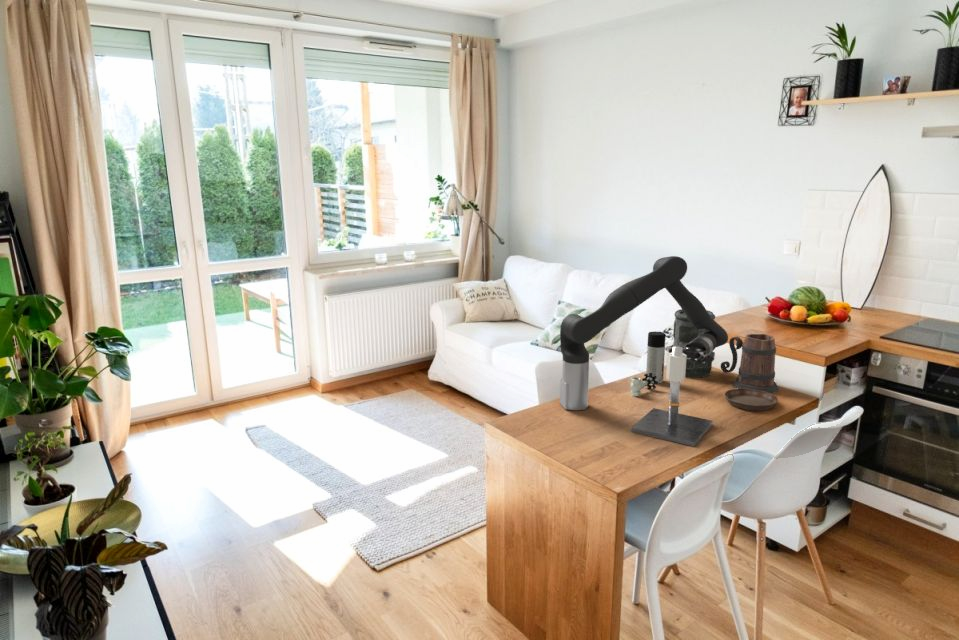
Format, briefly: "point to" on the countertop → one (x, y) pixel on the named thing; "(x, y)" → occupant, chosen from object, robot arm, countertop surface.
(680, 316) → the canister
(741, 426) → the countertop surface
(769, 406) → the plant saucer
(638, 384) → the valve
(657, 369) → the spray can
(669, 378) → the sleeve
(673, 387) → the pipe stand
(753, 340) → the tankard
